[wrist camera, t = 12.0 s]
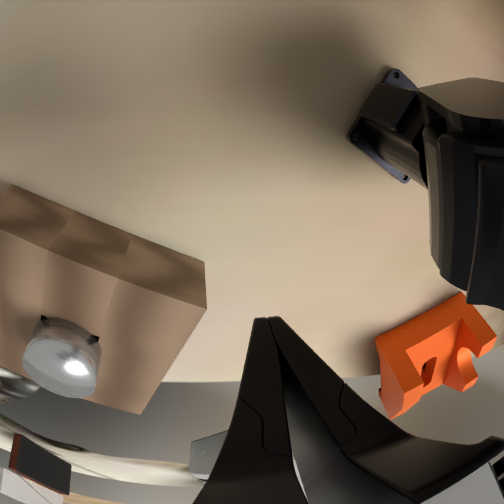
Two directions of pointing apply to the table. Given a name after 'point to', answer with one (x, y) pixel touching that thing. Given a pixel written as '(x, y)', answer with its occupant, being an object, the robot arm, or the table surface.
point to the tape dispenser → (431, 353)
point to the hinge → (205, 455)
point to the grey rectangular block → (26, 490)
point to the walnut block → (96, 294)
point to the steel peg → (63, 358)
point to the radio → (39, 465)
